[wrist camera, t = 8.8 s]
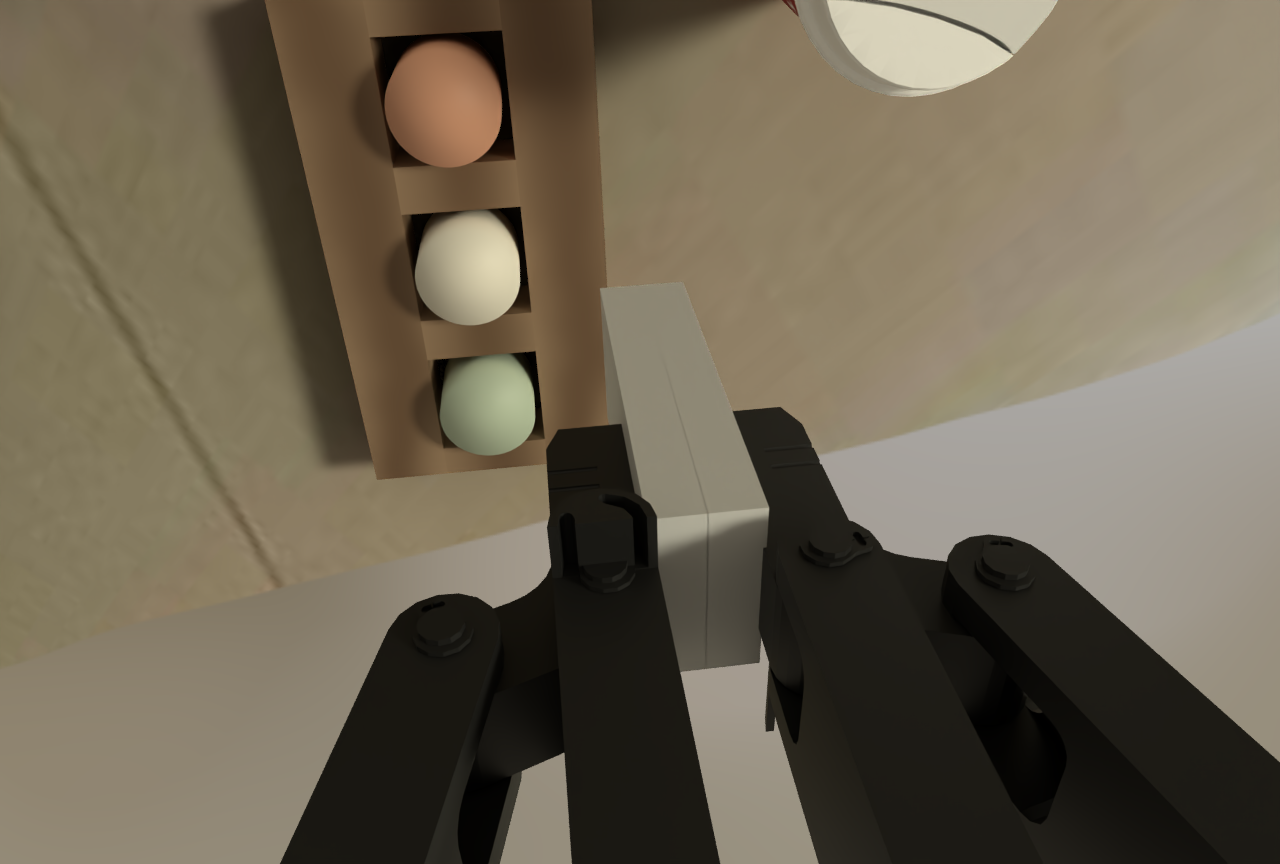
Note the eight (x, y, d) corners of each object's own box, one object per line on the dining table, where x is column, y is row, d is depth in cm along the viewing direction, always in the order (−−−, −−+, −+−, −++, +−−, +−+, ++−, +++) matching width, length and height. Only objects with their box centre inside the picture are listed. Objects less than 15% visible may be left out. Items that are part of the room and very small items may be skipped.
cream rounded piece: (429, 294, 43) (423, 329, 40) (414, 203, 41) (406, 233, 38) (523, 286, 44) (525, 321, 41) (513, 196, 41) (514, 225, 38)
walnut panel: (383, 445, 49) (376, 479, 46) (280, -14, 36) (264, -2, 34) (610, 425, 50) (616, 457, 47) (585, -29, 37) (590, -18, 35)
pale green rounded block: (450, 419, 47) (447, 459, 44) (437, 343, 45) (432, 380, 42) (536, 411, 48) (539, 451, 45) (528, 335, 45) (530, 372, 42)
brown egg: (403, 144, 39) (395, 171, 36) (384, 33, 37) (374, 52, 34) (507, 137, 40) (507, 163, 37) (495, 28, 37) (494, 46, 34)
